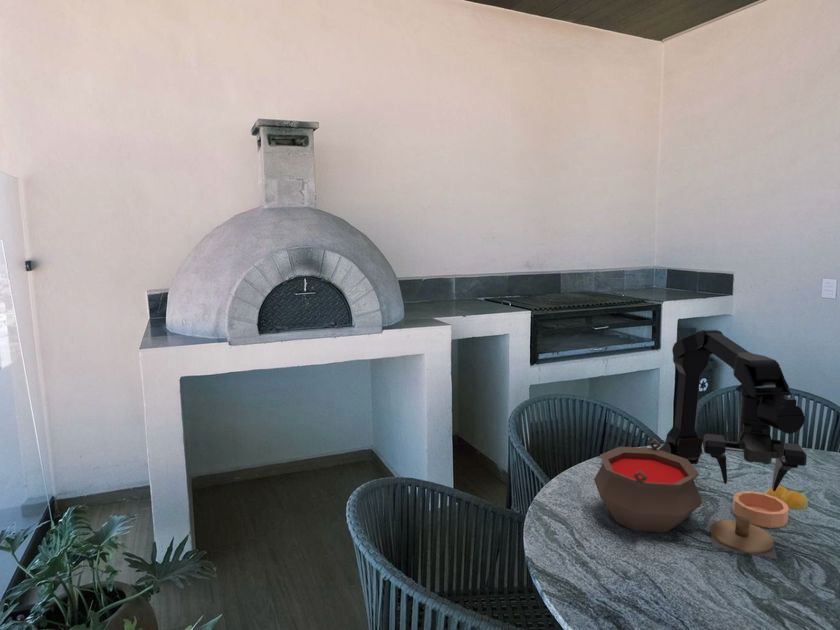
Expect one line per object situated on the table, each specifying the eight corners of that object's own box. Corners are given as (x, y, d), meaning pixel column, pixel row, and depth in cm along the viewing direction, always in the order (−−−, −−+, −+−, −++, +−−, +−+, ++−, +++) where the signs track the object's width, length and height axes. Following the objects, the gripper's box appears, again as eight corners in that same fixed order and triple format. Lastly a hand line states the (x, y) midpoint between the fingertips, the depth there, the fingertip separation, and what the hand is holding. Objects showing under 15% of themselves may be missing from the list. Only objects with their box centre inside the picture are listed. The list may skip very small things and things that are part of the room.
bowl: (735, 524, 134) (736, 508, 133) (730, 503, 144) (732, 488, 143) (790, 534, 129) (792, 518, 129) (782, 511, 139) (783, 496, 139)
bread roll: (801, 516, 138) (803, 500, 137) (760, 502, 144) (761, 487, 144) (812, 505, 143) (814, 490, 142) (772, 492, 150) (773, 478, 149)
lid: (712, 546, 123) (714, 526, 123) (709, 519, 134) (710, 501, 134) (777, 558, 119) (779, 538, 118) (768, 530, 130) (770, 511, 129)
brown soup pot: (603, 487, 152) (606, 428, 150) (704, 509, 141) (709, 445, 138) (579, 528, 132) (582, 461, 129) (695, 559, 120) (701, 485, 117)
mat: (712, 549, 124) (712, 545, 123) (708, 522, 134) (709, 519, 134) (777, 562, 119) (777, 558, 119) (768, 533, 130) (768, 530, 130)
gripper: (709, 423, 118) (704, 495, 121) (817, 435, 111) (809, 511, 114) (705, 408, 128) (700, 474, 131) (803, 418, 122) (796, 488, 124)
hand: (749, 486), depth 124 cm, fingers open, 9 cm apart
